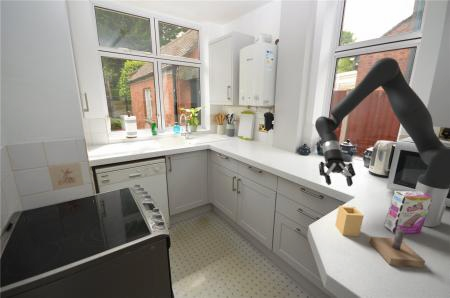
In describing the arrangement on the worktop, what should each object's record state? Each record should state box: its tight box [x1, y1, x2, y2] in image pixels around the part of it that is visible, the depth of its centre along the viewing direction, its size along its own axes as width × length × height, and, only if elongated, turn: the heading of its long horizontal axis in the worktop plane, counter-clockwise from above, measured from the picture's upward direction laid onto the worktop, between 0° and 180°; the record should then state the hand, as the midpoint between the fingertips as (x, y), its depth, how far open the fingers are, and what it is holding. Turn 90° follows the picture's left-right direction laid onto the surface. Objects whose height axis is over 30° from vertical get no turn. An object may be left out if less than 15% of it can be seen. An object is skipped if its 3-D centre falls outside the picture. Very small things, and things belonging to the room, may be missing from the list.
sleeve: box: [334, 205, 364, 237], centre depth 76 cm, size 6×6×9 cm
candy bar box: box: [383, 190, 433, 235], centre depth 77 cm, size 11×5×16 cm, turn 92°
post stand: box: [368, 229, 426, 269], centre depth 65 cm, size 10×10×10 cm
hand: (339, 185), depth 84 cm, fingers open, 8 cm apart
